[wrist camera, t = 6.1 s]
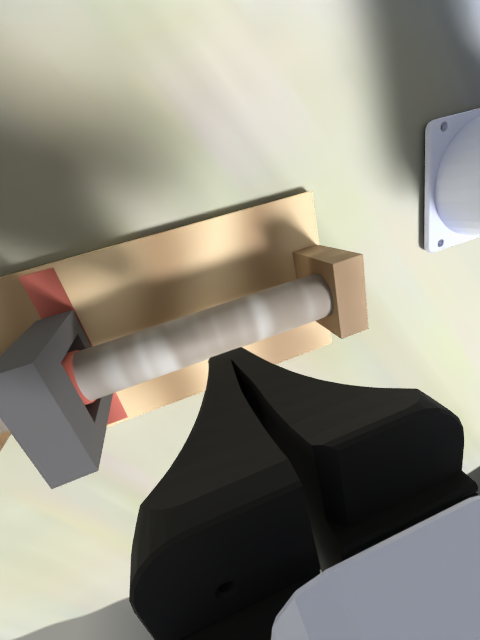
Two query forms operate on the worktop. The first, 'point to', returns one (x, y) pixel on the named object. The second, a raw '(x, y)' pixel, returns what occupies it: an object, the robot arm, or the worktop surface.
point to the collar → (51, 401)
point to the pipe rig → (191, 303)
